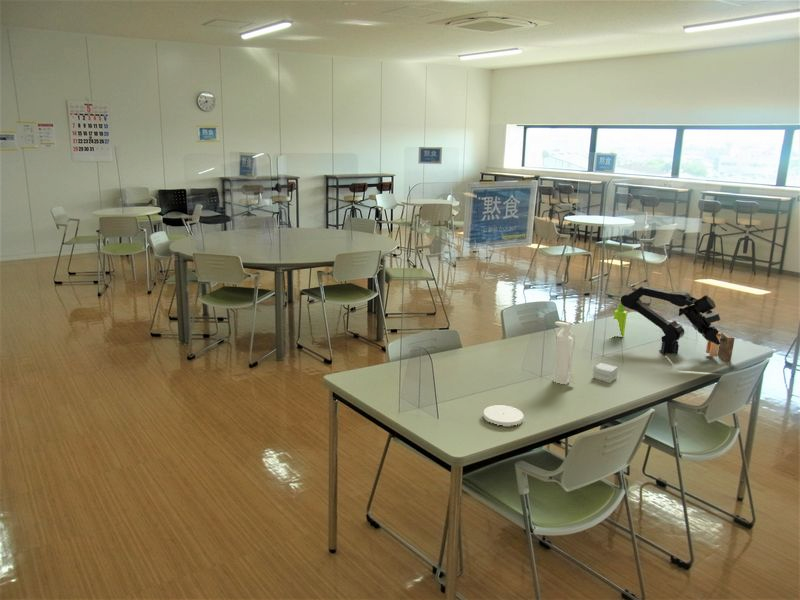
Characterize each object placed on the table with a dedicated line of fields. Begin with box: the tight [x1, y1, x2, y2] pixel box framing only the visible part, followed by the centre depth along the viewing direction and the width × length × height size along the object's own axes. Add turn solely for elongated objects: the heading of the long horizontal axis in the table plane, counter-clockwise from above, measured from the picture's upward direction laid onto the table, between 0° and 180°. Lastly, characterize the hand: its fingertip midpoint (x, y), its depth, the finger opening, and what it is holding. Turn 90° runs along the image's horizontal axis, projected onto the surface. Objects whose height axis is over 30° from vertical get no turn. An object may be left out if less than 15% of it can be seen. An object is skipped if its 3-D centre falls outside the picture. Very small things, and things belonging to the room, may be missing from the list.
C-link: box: [705, 332, 721, 358], centre depth 286 cm, size 3×6×11 cm, turn 172°
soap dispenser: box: [613, 297, 628, 338], centre depth 315 cm, size 6×7×20 cm
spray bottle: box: [553, 321, 576, 385], centre depth 252 cm, size 7×12×25 cm, turn 29°
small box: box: [592, 362, 619, 383], centre depth 261 cm, size 8×8×5 cm
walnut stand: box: [717, 332, 736, 362], centre depth 286 cm, size 9×8×12 cm
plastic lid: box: [482, 404, 525, 427], centre depth 220 cm, size 14×14×2 cm
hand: (716, 341), depth 285 cm, fingers closed on C-link, 6 cm apart
